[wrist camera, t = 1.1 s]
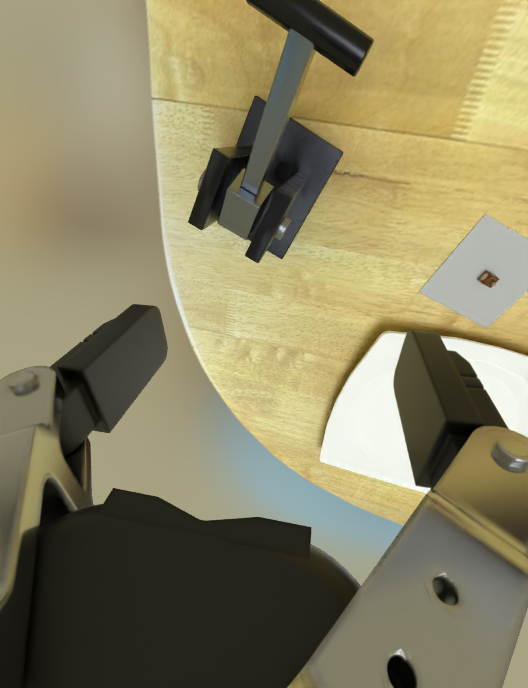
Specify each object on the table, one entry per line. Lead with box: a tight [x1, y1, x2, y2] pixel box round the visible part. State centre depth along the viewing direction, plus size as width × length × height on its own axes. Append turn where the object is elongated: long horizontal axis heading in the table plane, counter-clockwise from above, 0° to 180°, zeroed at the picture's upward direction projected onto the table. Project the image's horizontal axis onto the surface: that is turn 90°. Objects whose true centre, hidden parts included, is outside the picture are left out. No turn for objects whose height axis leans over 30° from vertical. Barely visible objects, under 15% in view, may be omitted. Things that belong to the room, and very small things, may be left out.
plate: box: [319, 331, 528, 493], centre depth 37 cm, size 24×24×3 cm
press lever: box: [218, 0, 374, 240], centre depth 16 cm, size 11×5×2 cm, turn 152°
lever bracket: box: [188, 96, 343, 263], centre depth 23 cm, size 10×8×12 cm
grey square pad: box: [419, 215, 528, 328], centre depth 27 cm, size 8×8×2 cm
